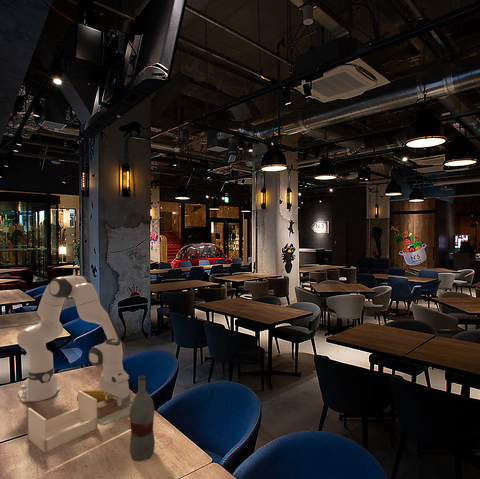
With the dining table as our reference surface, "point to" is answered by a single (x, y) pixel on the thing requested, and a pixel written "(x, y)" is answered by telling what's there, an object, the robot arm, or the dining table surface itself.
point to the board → (115, 415)
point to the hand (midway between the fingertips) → (113, 402)
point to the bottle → (142, 424)
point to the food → (97, 395)
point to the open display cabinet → (63, 424)
